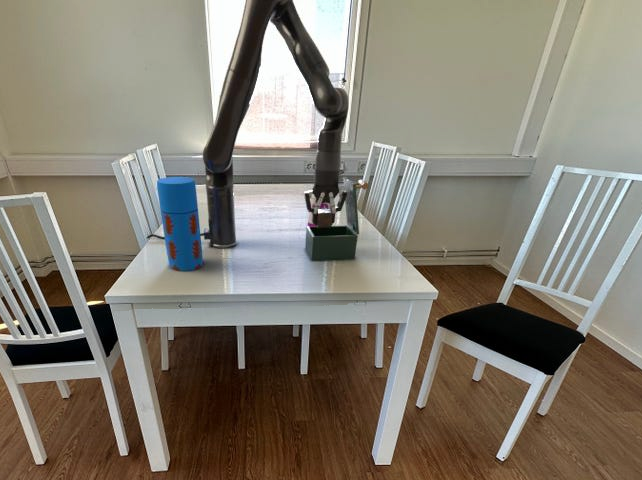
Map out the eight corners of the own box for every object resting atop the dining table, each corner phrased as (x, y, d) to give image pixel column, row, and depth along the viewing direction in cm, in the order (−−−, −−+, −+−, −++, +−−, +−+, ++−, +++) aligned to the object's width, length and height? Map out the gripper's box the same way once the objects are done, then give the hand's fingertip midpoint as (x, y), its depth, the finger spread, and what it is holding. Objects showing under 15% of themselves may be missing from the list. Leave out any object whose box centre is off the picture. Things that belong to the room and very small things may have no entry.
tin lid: (353, 184, 117) (371, 179, 117) (343, 177, 127) (360, 172, 126) (356, 234, 126) (373, 230, 126) (347, 224, 136) (363, 220, 135)
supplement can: (327, 240, 147) (331, 197, 138) (305, 238, 148) (307, 196, 140) (329, 233, 153) (332, 192, 145) (308, 232, 155) (310, 191, 146)
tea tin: (311, 260, 129) (313, 237, 125) (305, 248, 139) (306, 226, 134) (354, 259, 131) (357, 235, 126) (345, 247, 140) (348, 225, 136)
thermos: (187, 273, 120) (176, 185, 105) (161, 266, 124) (148, 181, 110) (210, 262, 127) (202, 179, 113) (185, 256, 132) (175, 175, 118)
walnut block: (317, 227, 127) (318, 213, 124) (314, 223, 131) (315, 209, 128) (331, 227, 127) (332, 212, 125) (328, 223, 131) (329, 209, 129)
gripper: (347, 165, 123) (341, 221, 133) (302, 165, 122) (299, 222, 131) (353, 169, 117) (347, 227, 127) (306, 170, 115) (303, 228, 125)
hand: (322, 224), depth 129 cm, fingers closed on walnut block, 4 cm apart
